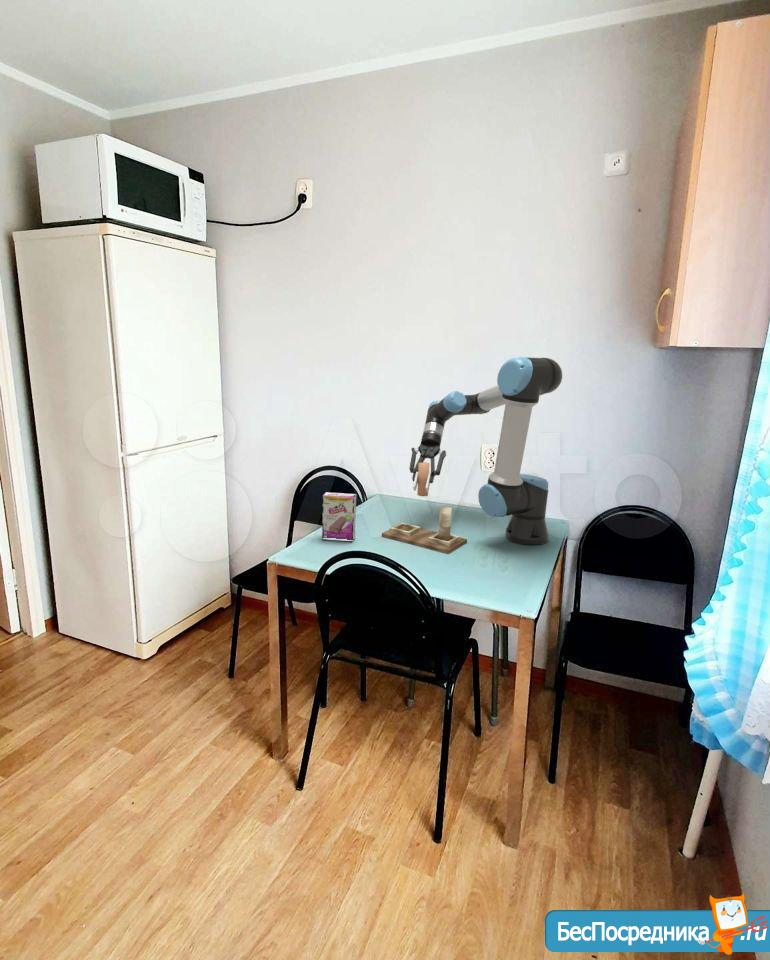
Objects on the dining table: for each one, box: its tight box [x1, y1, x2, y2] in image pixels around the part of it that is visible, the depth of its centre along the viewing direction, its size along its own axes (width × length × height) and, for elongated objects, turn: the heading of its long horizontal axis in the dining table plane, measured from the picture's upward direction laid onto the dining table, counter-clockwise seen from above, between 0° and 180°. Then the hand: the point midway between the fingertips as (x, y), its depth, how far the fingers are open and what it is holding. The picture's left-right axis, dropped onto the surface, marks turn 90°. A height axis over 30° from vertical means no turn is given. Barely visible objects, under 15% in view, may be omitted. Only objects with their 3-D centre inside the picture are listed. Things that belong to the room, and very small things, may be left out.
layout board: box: [381, 506, 468, 555], centre depth 198 cm, size 27×14×13 cm, turn 56°
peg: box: [416, 461, 430, 497], centre depth 207 cm, size 4×4×12 cm
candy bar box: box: [321, 491, 357, 541], centre depth 195 cm, size 11×5×16 cm, turn 84°
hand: (420, 489), depth 204 cm, fingers closed on peg, 4 cm apart
